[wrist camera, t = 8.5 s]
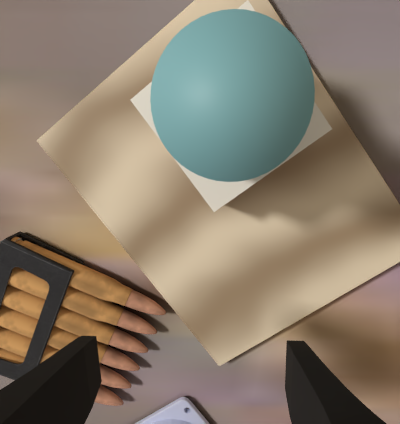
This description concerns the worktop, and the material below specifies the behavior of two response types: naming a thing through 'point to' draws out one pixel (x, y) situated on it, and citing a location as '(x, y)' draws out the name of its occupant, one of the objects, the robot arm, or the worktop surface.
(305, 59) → the teal piece
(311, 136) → the tower top
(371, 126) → the worktop surface
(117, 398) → the ammunition clip
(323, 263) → the birch board
